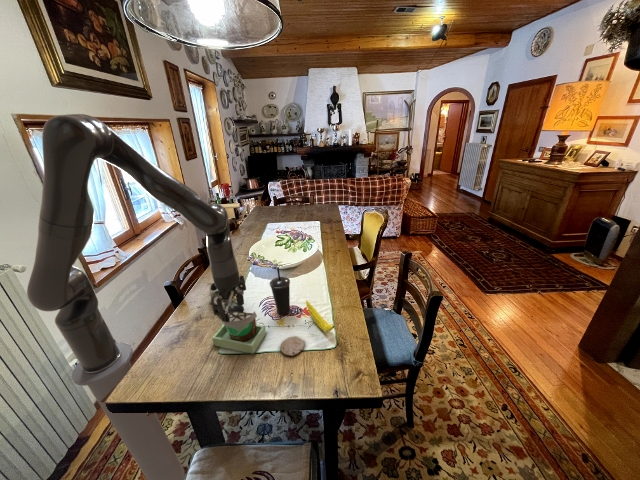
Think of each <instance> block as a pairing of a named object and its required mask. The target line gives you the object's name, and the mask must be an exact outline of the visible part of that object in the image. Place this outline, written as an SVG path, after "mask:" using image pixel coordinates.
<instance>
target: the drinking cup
mask: <svg viewBox="0 0 640 480" xmlns="http://www.w3.org/2000/svg"><path fill="white" fill-rule="evenodd" d="M276 271H277V277H275V278H273V279H271V280H270V281H269V287H270V289H271V293H272V296H273V300H274V304H275V307H276V311H277V314H278V315H280V316H286V315H287V314H289V313H290V312H291V311H290V309H291V308H290V307H291V306H290V304H291V303H290V301H291V300H290V299H291V298H290V297H291V295H290V294H291V293H290V288H291V287H290V284H291V280H290V278H289V277H287V276H281V273H280V267H279V266H278V267H276Z"/></svg>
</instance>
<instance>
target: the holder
mask: <svg viewBox="0 0 640 480" xmlns="http://www.w3.org/2000/svg"><path fill="white" fill-rule="evenodd" d="M266 335H267V330H266V325H263V324H262V325H261V324H256V335H255V336H254V337H253V338H252V339H250V340H249V341H246V342H240V341H235V340H231V338H230V335H229V333H228V330H227V328H226V326H225V325H224V324H223V323H222V325H221V327H219V329H218V330H217V331H216V332H215V334H213V336H212V337H211V340H212V344H213V346H215V347H220V348H223V349H229V350H234V351H238V352H243V353H247V354H252V355H254V354H255V353H256V351H257V349H258V348H259V346H260V345H261V343H262V341H263V339H264V338H265V336H266Z"/></svg>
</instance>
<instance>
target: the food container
mask: <svg viewBox="0 0 640 480" xmlns="http://www.w3.org/2000/svg"><path fill="white" fill-rule="evenodd" d="M228 314H229V318H230V321H229V322H223V321H222V319H221V318H220V319H221V323H222V325H223V324H224V325H225V326H226V328H227V330H228V333H229V335H230V338H231V340H235V341H240V342H246V341H249V340H250V339H252V338H253V337H254V336H255V335H256V325H257V322H256V321H257V320H256V318H257V317H258V314H257V312H256V311H255V310H254V311H253V312H245V311H243V312H240V311H235V312H230V311H228Z"/></svg>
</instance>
